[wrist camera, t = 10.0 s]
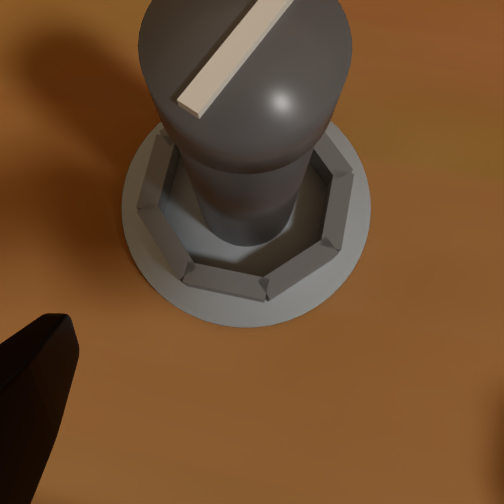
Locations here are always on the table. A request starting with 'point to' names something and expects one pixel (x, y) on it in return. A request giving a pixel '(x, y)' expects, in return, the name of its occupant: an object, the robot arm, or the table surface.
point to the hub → (246, 258)
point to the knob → (245, 100)
